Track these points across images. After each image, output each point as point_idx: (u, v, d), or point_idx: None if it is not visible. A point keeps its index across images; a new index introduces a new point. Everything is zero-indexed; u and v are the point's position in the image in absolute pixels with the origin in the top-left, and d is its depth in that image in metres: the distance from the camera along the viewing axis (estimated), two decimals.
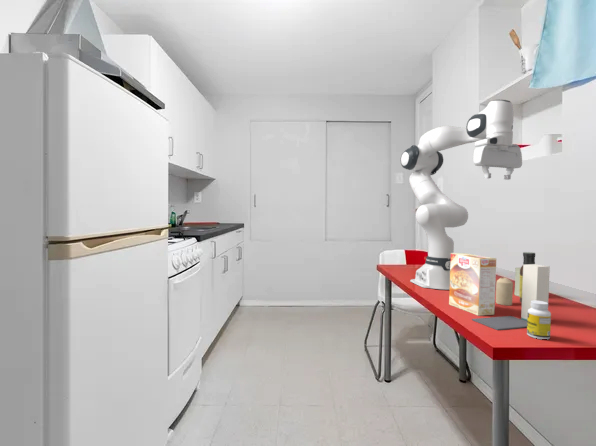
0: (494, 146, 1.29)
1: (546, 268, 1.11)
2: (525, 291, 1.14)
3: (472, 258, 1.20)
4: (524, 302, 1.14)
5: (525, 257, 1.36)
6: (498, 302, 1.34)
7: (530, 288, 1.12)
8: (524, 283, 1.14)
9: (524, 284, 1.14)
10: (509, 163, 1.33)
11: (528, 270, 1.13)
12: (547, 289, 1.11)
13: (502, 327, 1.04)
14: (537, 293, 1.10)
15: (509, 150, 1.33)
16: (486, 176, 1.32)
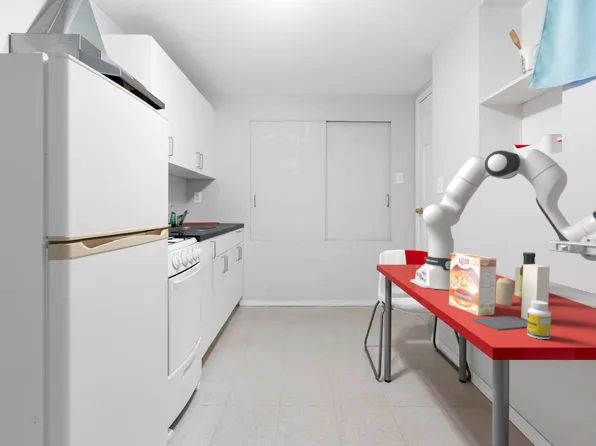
0: None
1: (546, 268, 1.11)
2: (525, 291, 1.14)
3: (472, 258, 1.20)
4: (524, 302, 1.14)
5: (525, 257, 1.36)
6: (498, 302, 1.34)
7: (530, 288, 1.12)
8: (524, 283, 1.14)
9: (524, 284, 1.14)
10: None
11: (528, 270, 1.13)
12: (547, 289, 1.11)
13: (502, 327, 1.04)
14: (537, 293, 1.10)
15: None
16: (571, 249, 1.15)
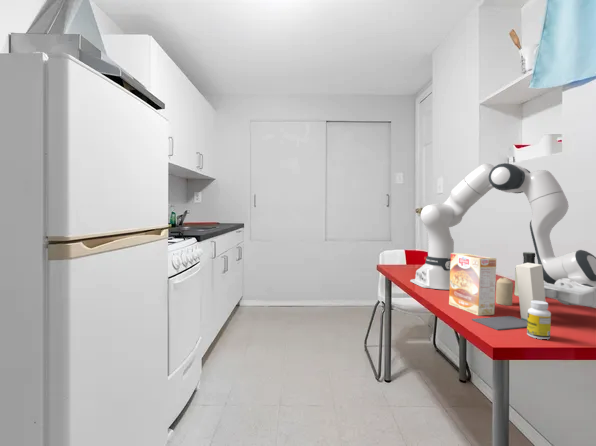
0: None
1: (539, 267, 1.10)
2: (521, 292, 1.13)
3: (472, 258, 1.20)
4: (522, 302, 1.14)
5: (525, 257, 1.36)
6: (498, 302, 1.34)
7: (526, 289, 1.11)
8: (519, 284, 1.13)
9: (519, 285, 1.13)
10: None
11: (521, 271, 1.12)
12: (542, 288, 1.11)
13: (502, 327, 1.04)
14: (533, 293, 1.10)
15: None
16: None
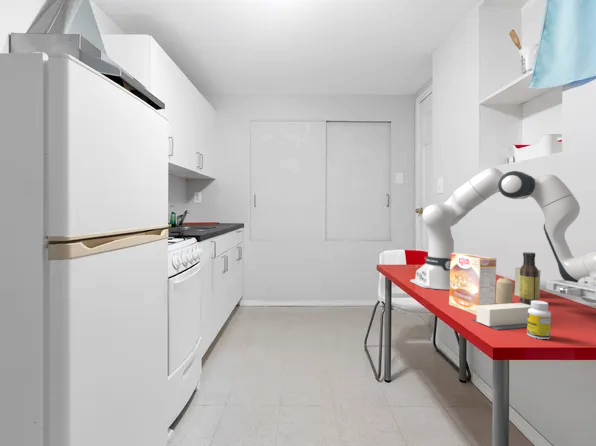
0: None
1: (491, 314, 1.05)
2: None
3: (472, 258, 1.20)
4: None
5: (525, 257, 1.36)
6: (498, 302, 1.34)
7: None
8: None
9: None
10: None
11: None
12: (509, 310, 1.07)
13: (502, 327, 1.04)
14: (511, 322, 1.07)
15: None
16: (568, 292, 1.15)
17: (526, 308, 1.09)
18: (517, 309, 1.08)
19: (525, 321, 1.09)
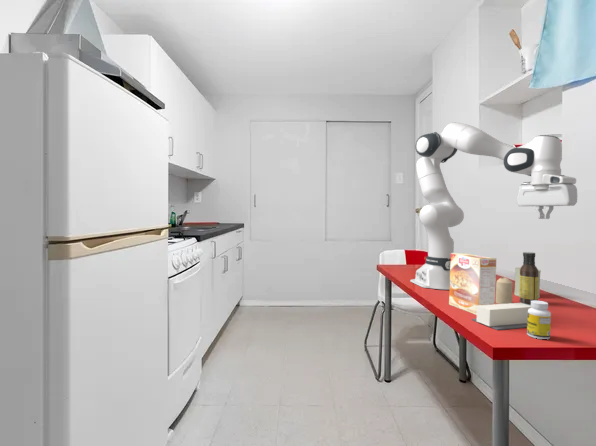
0: None
1: (491, 314, 1.05)
2: None
3: (472, 258, 1.20)
4: None
5: (525, 257, 1.36)
6: (498, 302, 1.34)
7: None
8: None
9: None
10: None
11: None
12: (509, 310, 1.07)
13: (502, 327, 1.04)
14: (511, 322, 1.07)
15: None
16: (548, 217, 1.25)
17: (526, 308, 1.09)
18: (517, 309, 1.08)
19: (525, 321, 1.09)
